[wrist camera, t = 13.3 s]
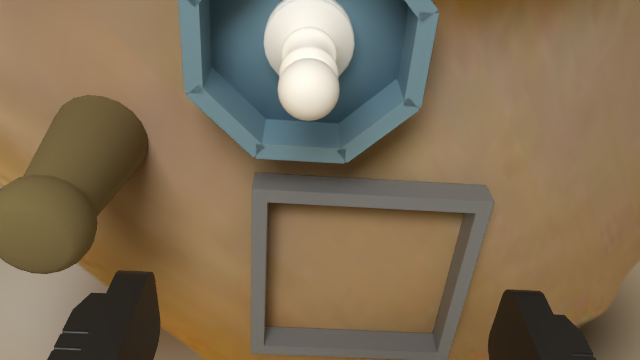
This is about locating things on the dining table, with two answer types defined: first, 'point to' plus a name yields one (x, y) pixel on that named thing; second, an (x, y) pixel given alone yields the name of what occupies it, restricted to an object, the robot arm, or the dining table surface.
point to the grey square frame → (473, 200)
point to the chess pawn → (309, 54)
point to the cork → (69, 184)
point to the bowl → (262, 81)
